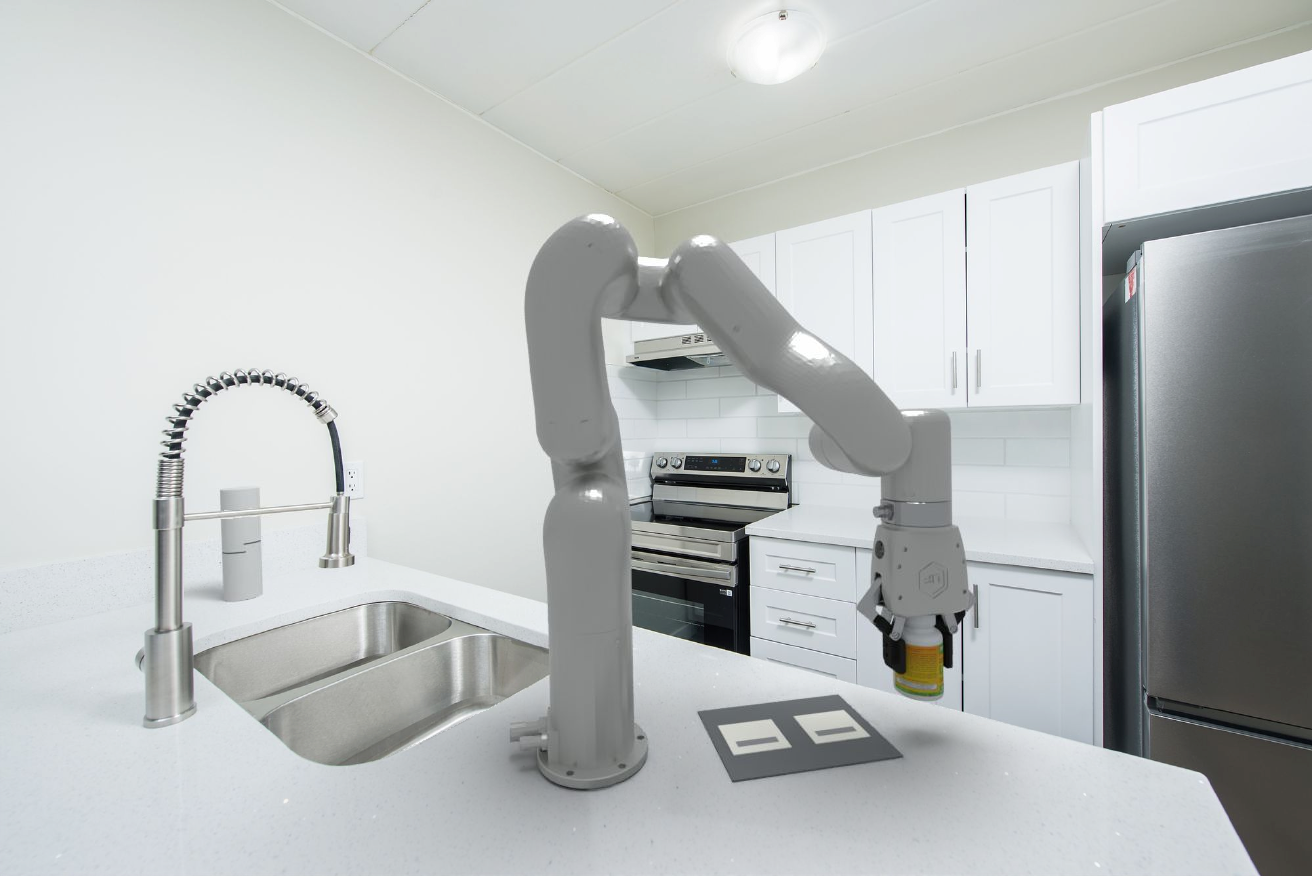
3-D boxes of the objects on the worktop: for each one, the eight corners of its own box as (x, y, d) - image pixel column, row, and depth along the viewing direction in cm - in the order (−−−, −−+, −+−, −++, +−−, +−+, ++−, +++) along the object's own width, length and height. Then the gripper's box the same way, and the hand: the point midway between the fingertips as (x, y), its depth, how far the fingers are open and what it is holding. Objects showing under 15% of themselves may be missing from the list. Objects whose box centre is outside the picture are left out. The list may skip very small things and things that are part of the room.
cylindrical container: (268, 594, 124) (265, 487, 123) (231, 603, 118) (227, 490, 117) (254, 590, 128) (251, 486, 127) (218, 598, 122) (214, 489, 121)
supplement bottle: (950, 704, 60) (949, 618, 60) (899, 701, 61) (897, 616, 61) (935, 682, 65) (934, 603, 65) (888, 679, 66) (887, 601, 66)
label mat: (732, 782, 56) (732, 779, 56) (697, 712, 70) (697, 710, 70) (903, 757, 60) (903, 754, 60) (838, 695, 73) (838, 693, 73)
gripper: (868, 523, 57) (870, 690, 58) (1004, 515, 61) (1006, 672, 61) (832, 513, 65) (835, 660, 65) (956, 505, 68) (957, 646, 68)
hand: (918, 664), depth 63 cm, fingers closed on supplement bottle, 5 cm apart
